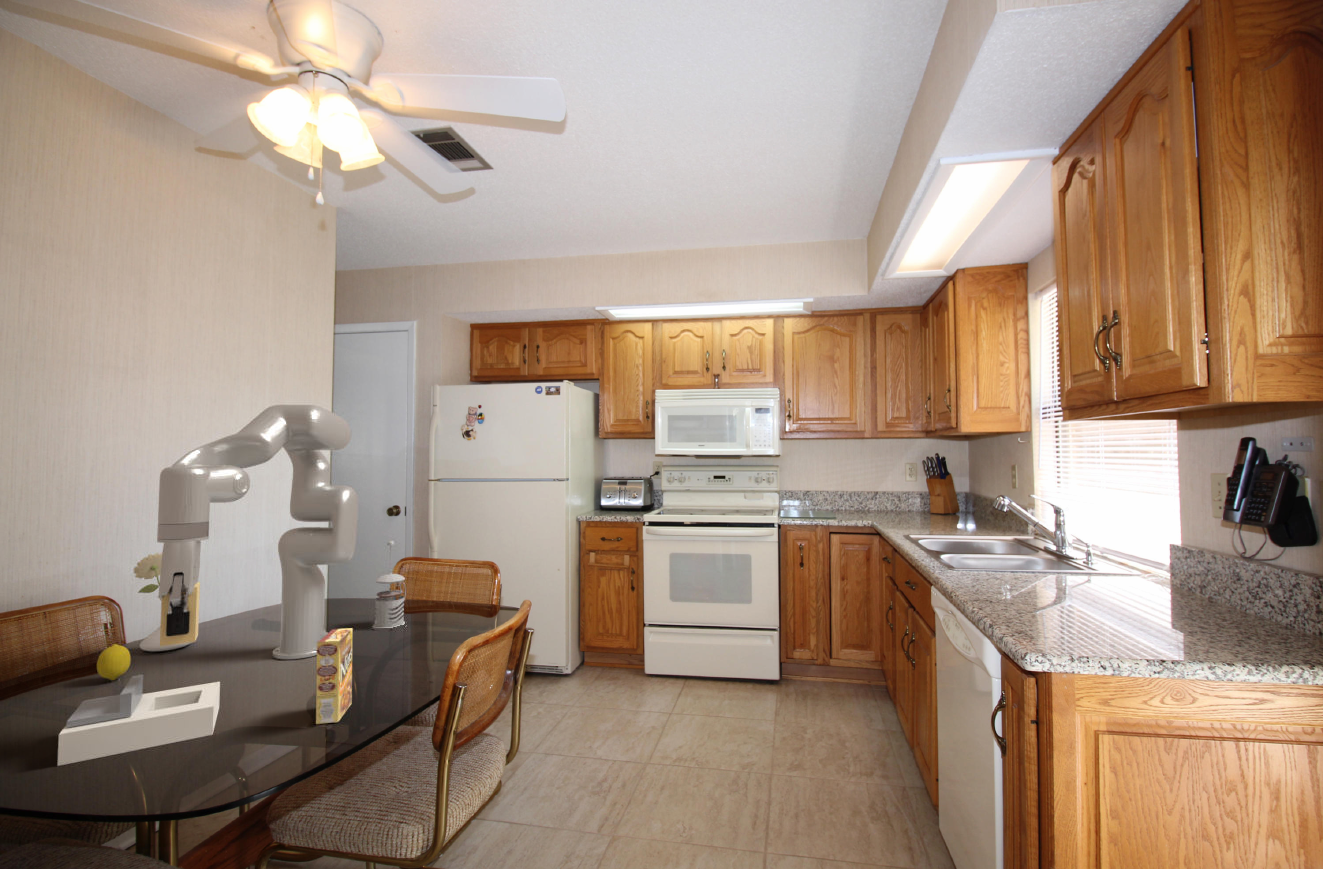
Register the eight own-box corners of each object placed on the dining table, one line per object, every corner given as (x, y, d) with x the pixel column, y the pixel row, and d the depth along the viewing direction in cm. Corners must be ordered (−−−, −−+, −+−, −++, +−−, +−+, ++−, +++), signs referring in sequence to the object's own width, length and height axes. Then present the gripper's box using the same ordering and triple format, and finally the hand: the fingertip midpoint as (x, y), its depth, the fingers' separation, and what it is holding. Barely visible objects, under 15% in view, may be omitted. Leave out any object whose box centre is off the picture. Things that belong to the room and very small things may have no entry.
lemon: (109, 686, 129) (110, 648, 129) (89, 684, 130) (90, 647, 130) (136, 677, 134) (137, 641, 134) (116, 675, 135) (118, 639, 135)
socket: (219, 706, 118) (220, 681, 118) (212, 734, 106) (213, 706, 106) (81, 732, 107) (82, 704, 107) (57, 765, 95) (58, 734, 96)
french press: (363, 630, 171) (365, 542, 172) (388, 619, 182) (389, 537, 183) (394, 631, 169) (395, 543, 170) (417, 620, 180) (418, 538, 181)
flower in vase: (193, 638, 162) (196, 547, 163) (199, 648, 154) (202, 551, 155) (129, 649, 153) (132, 552, 154) (131, 660, 145) (135, 557, 146)
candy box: (339, 723, 111) (340, 640, 112) (314, 725, 110) (316, 641, 111) (352, 703, 120) (354, 627, 120) (329, 705, 119) (331, 628, 119)
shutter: (142, 696, 110) (142, 674, 110) (130, 716, 102) (131, 692, 102) (83, 706, 106) (84, 683, 106) (66, 727, 98) (67, 703, 98)
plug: (198, 635, 113) (200, 571, 114) (195, 641, 109) (197, 576, 110) (164, 639, 110) (166, 574, 111) (159, 646, 106) (162, 578, 107)
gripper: (164, 529, 116) (161, 623, 115) (149, 538, 101) (144, 646, 101) (212, 527, 120) (209, 618, 119) (204, 535, 106) (200, 639, 105)
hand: (179, 630), depth 110 cm, fingers closed on plug, 5 cm apart
